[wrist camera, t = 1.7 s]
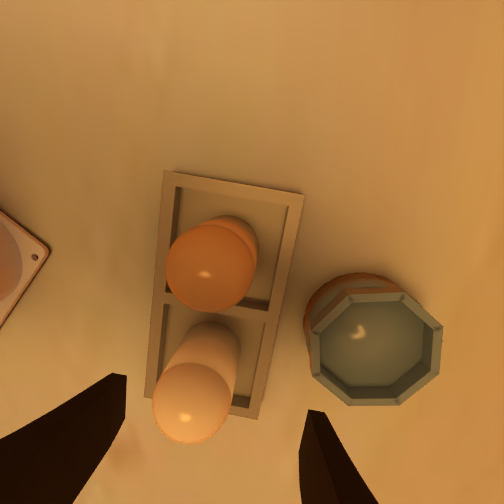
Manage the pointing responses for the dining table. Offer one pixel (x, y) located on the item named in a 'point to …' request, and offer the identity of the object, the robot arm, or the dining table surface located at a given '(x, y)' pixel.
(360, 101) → the dining table surface
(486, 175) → the dining table surface
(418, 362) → the octagonal bowl
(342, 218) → the dining table surface
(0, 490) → the robot arm
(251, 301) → the divided tray
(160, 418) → the tan rounded cylinder
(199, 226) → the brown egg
